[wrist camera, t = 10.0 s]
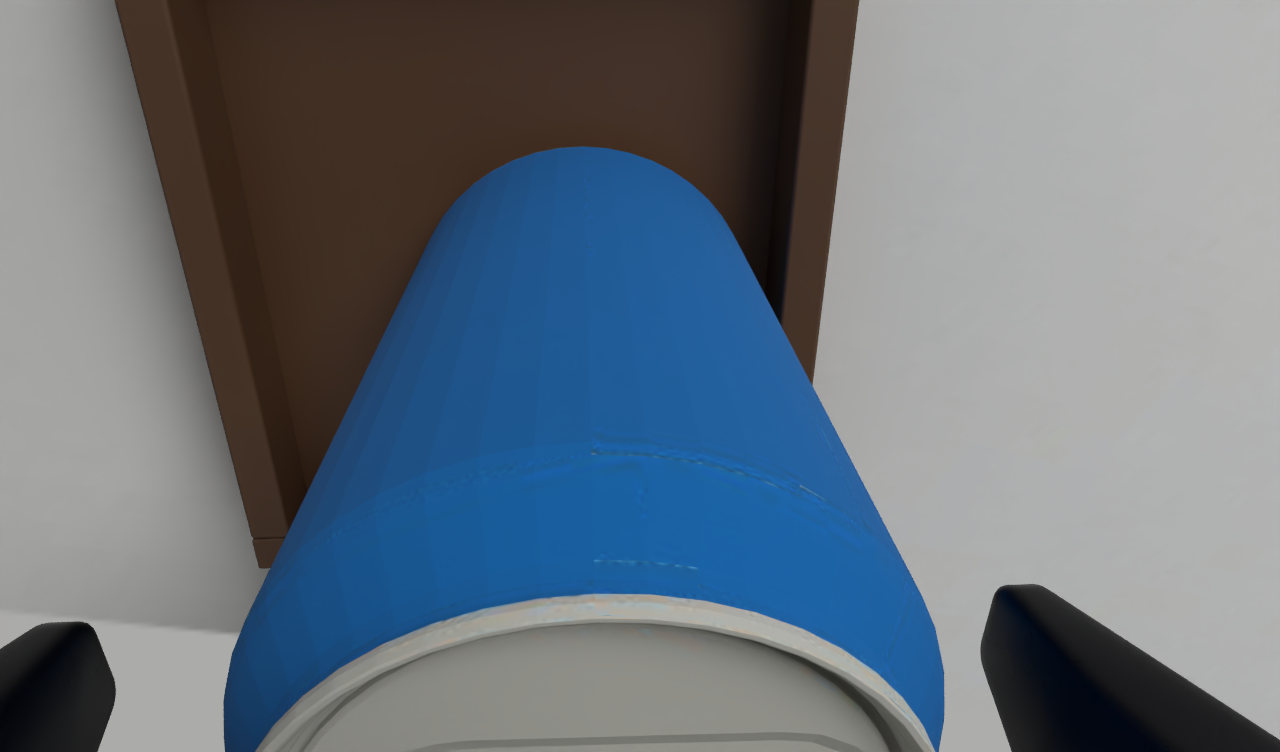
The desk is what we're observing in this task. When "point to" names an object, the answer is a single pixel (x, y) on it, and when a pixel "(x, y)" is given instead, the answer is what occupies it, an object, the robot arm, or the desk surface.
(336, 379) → the walnut tray
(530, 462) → the beverage can
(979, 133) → the desk surface
